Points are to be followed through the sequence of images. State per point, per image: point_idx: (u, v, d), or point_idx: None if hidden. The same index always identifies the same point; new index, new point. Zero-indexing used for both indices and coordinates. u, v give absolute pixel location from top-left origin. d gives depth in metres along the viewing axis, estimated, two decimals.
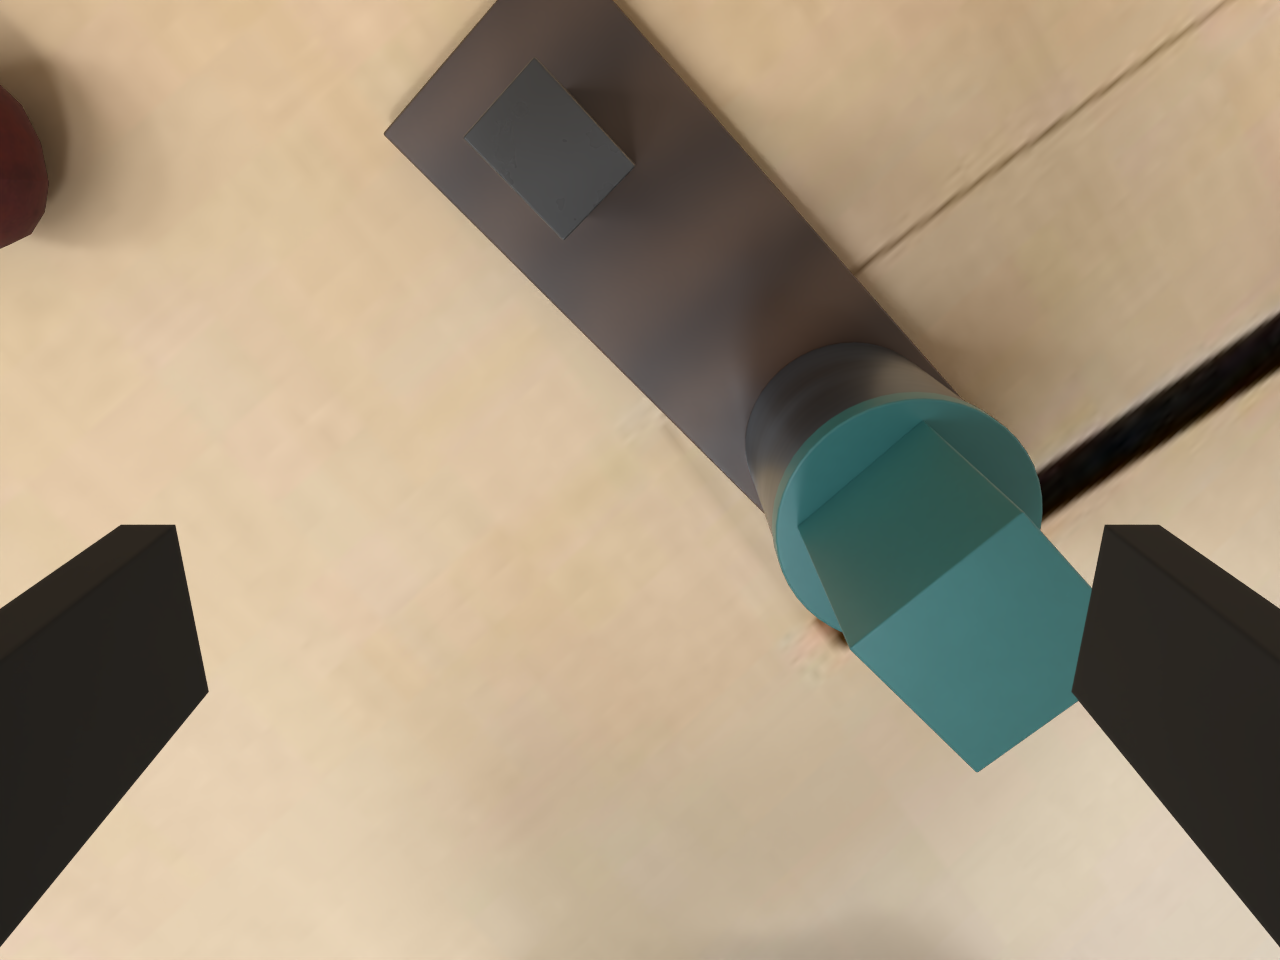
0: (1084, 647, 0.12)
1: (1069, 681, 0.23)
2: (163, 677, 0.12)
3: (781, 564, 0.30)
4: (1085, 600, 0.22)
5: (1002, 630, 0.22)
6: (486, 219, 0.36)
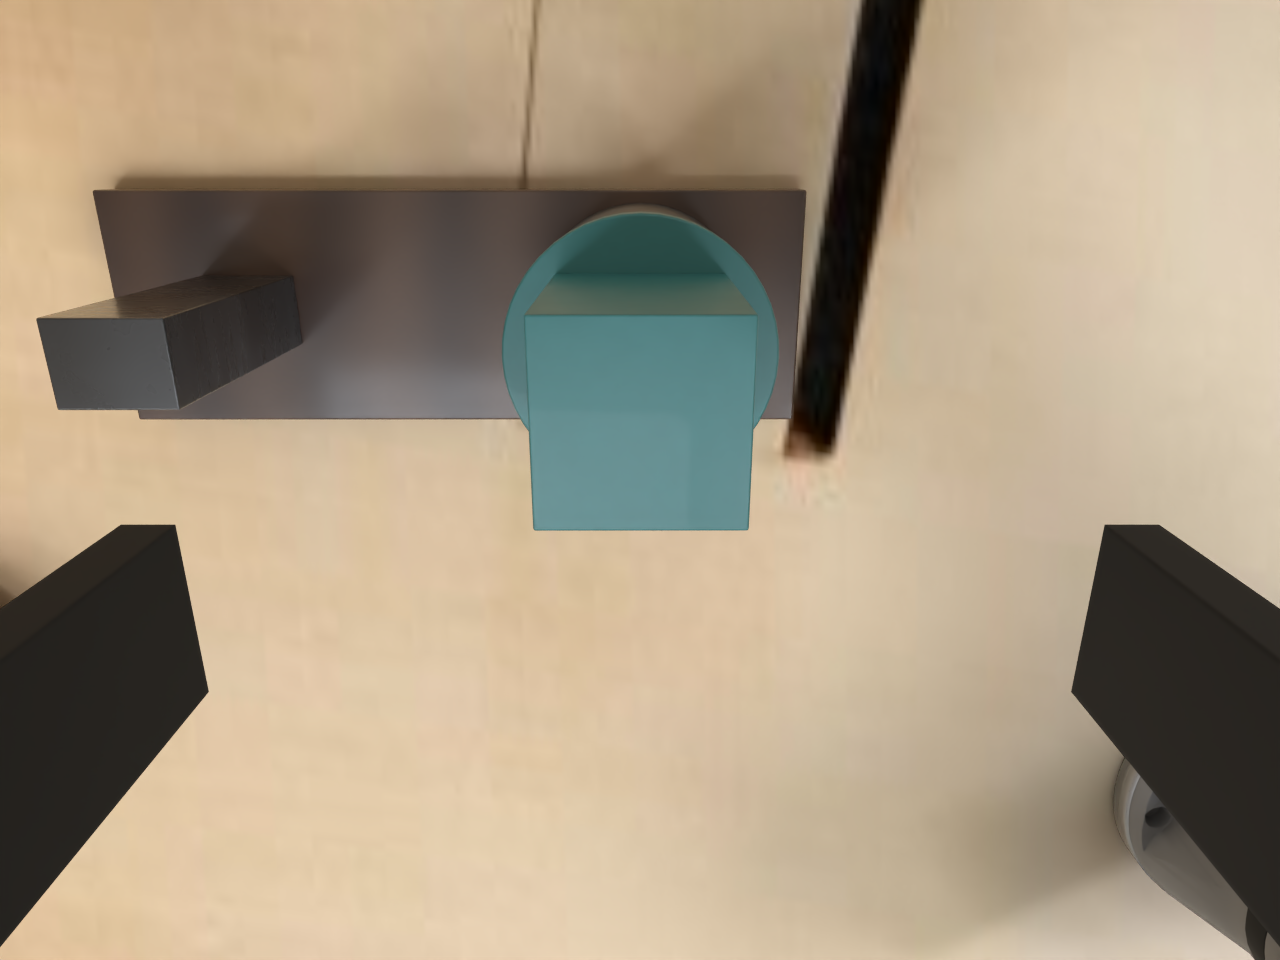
0: (1084, 647, 0.12)
1: (725, 396, 0.21)
2: (163, 677, 0.12)
3: None
4: (655, 327, 0.20)
5: (623, 410, 0.21)
6: (249, 408, 0.40)
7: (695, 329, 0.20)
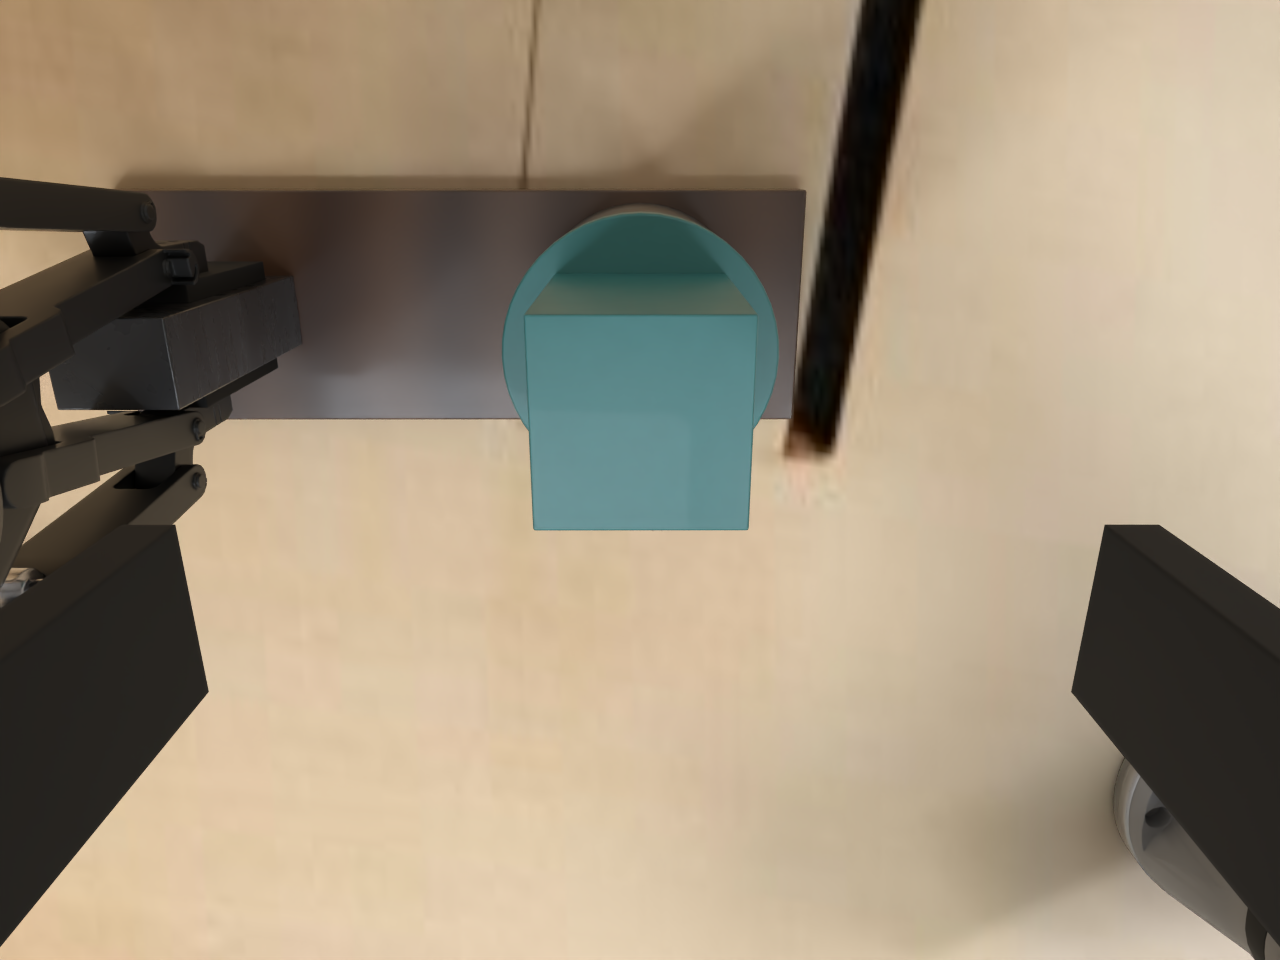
0: (1084, 647, 0.12)
1: (725, 396, 0.21)
2: (163, 677, 0.12)
3: None
4: (655, 327, 0.20)
5: (622, 410, 0.21)
6: (249, 408, 0.40)
7: (694, 329, 0.20)
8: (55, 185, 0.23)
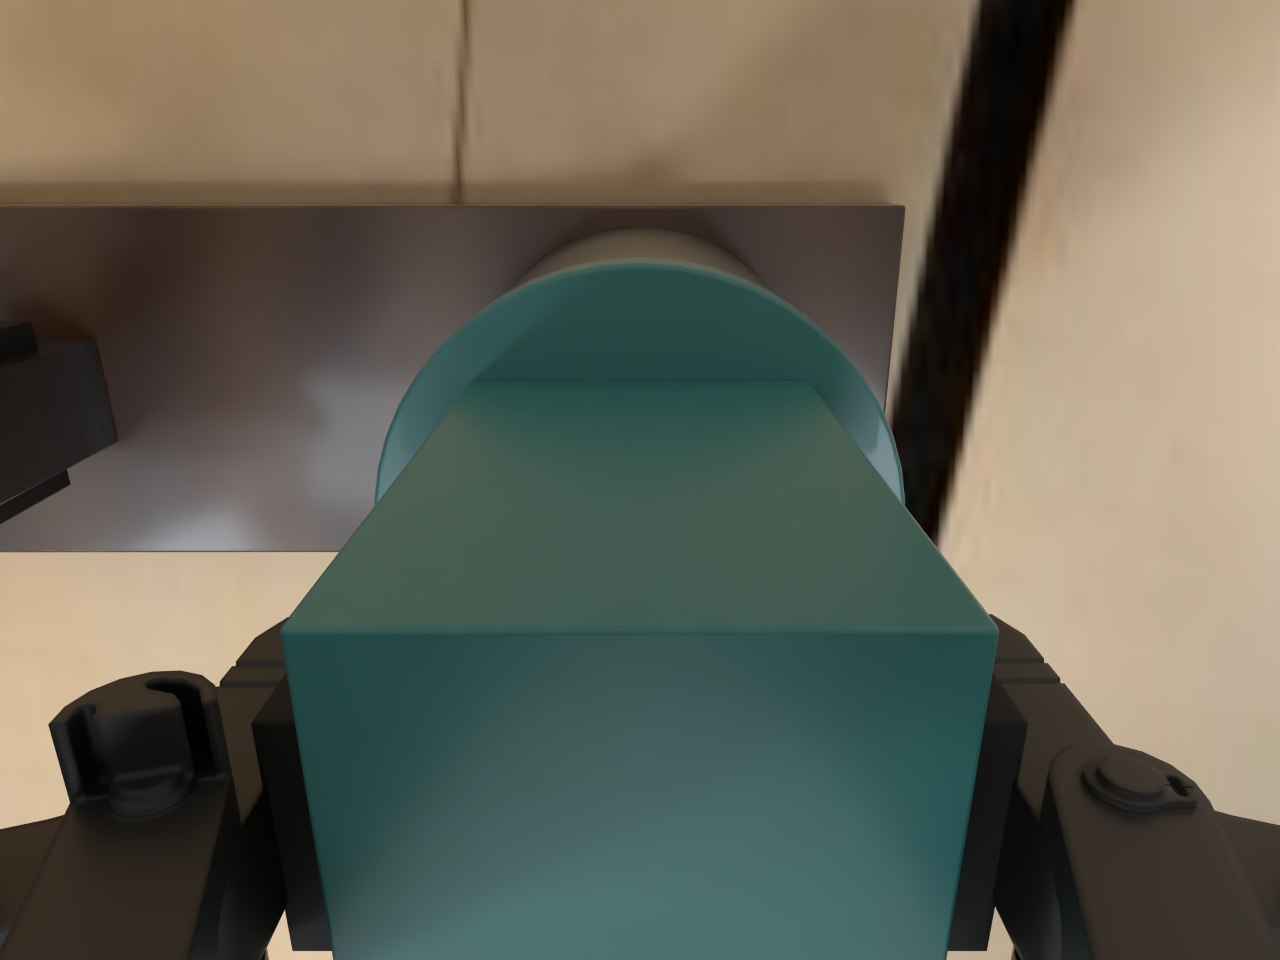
0: None
1: (885, 836, 0.07)
2: None
3: None
4: (684, 664, 0.07)
5: (588, 868, 0.07)
6: (44, 536, 0.26)
7: (804, 668, 0.07)
8: None
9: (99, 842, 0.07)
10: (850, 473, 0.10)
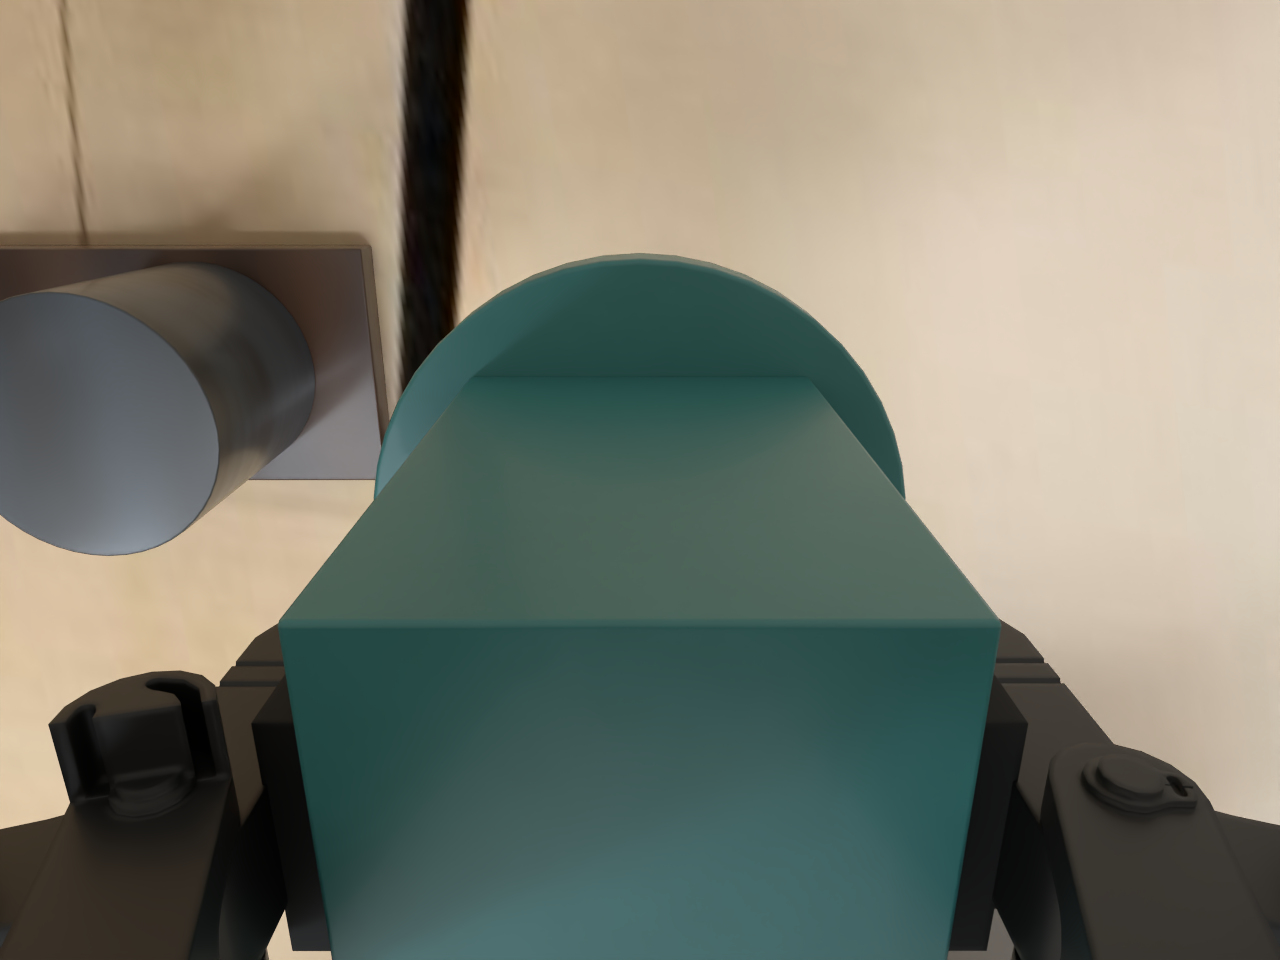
0: None
1: (885, 831, 0.07)
2: None
3: None
4: (684, 657, 0.07)
5: (587, 863, 0.07)
6: None
7: (805, 661, 0.07)
8: None
9: (99, 842, 0.07)
10: (851, 468, 0.10)
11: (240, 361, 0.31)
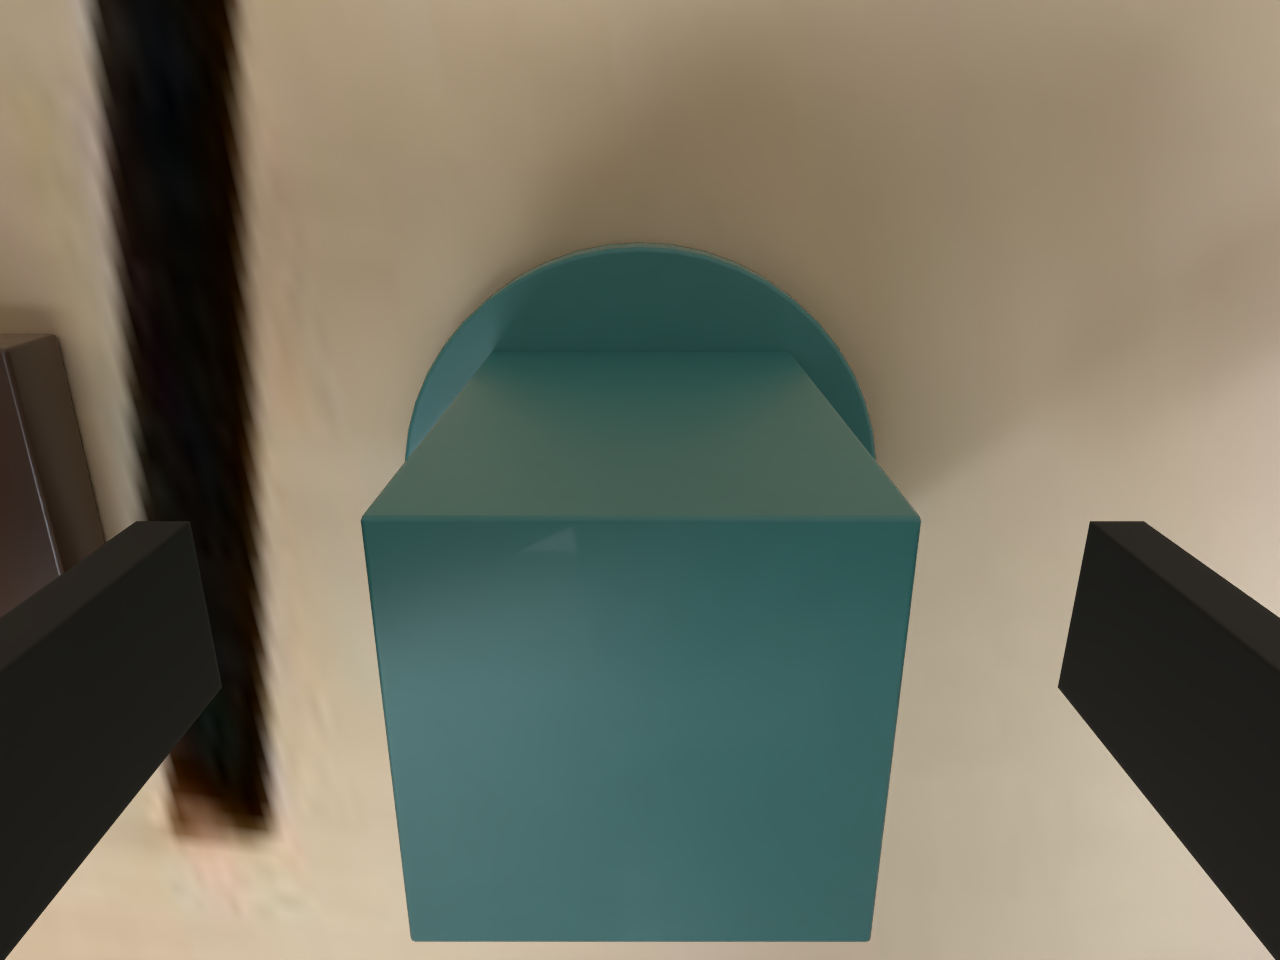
0: (1070, 643, 0.13)
1: (835, 690, 0.09)
2: (178, 672, 0.12)
3: None
4: (676, 546, 0.09)
5: (599, 718, 0.09)
6: None
7: (768, 549, 0.09)
8: None
9: None
10: (817, 418, 0.12)
11: None
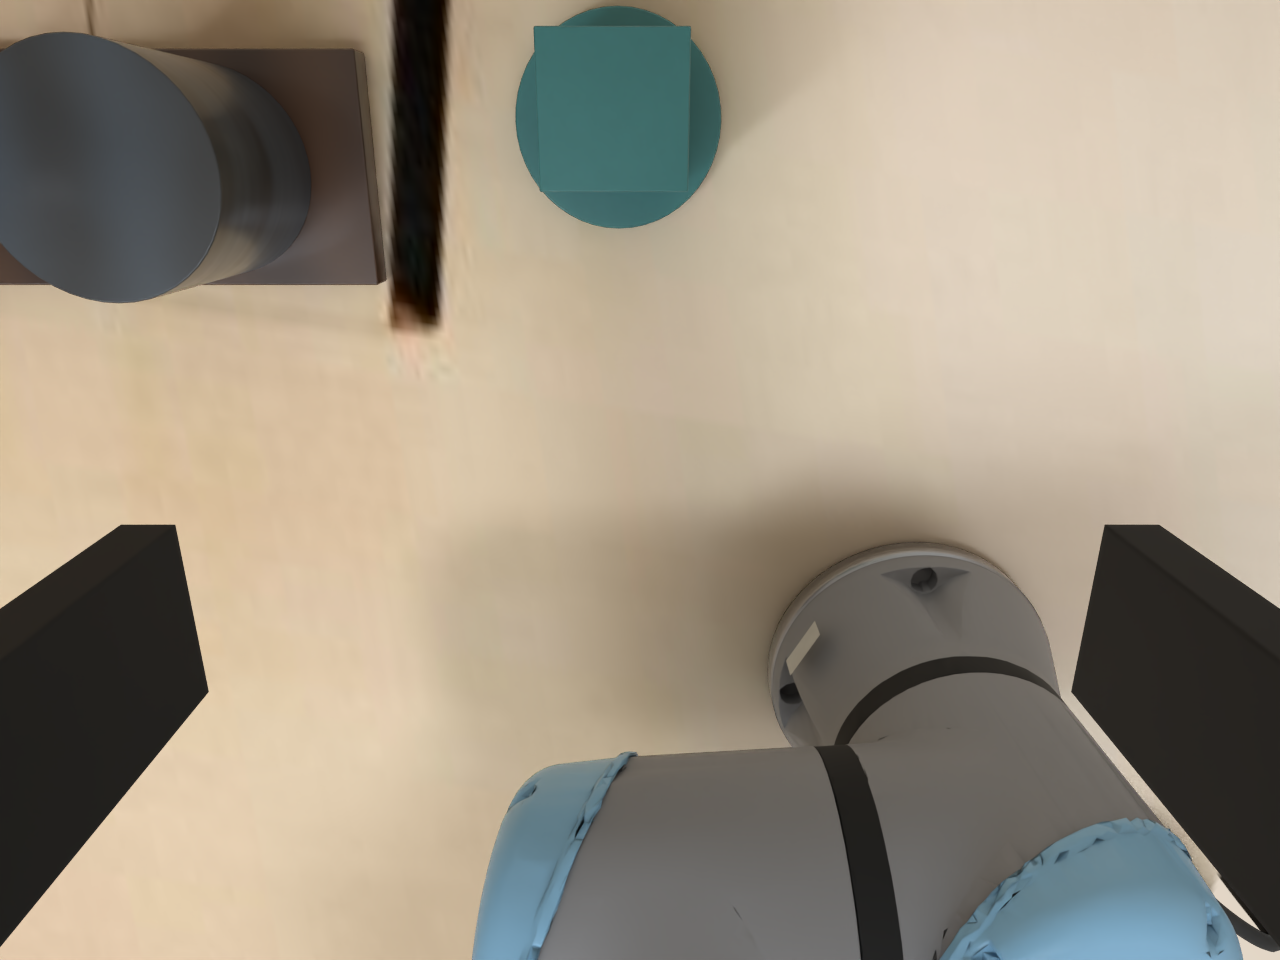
0: (1084, 647, 0.12)
1: (670, 87, 0.31)
2: (163, 677, 0.12)
3: (575, 216, 0.40)
4: (622, 35, 0.30)
5: (600, 98, 0.31)
6: None
7: (648, 36, 0.30)
8: None
9: None
10: None
11: (241, 127, 0.33)
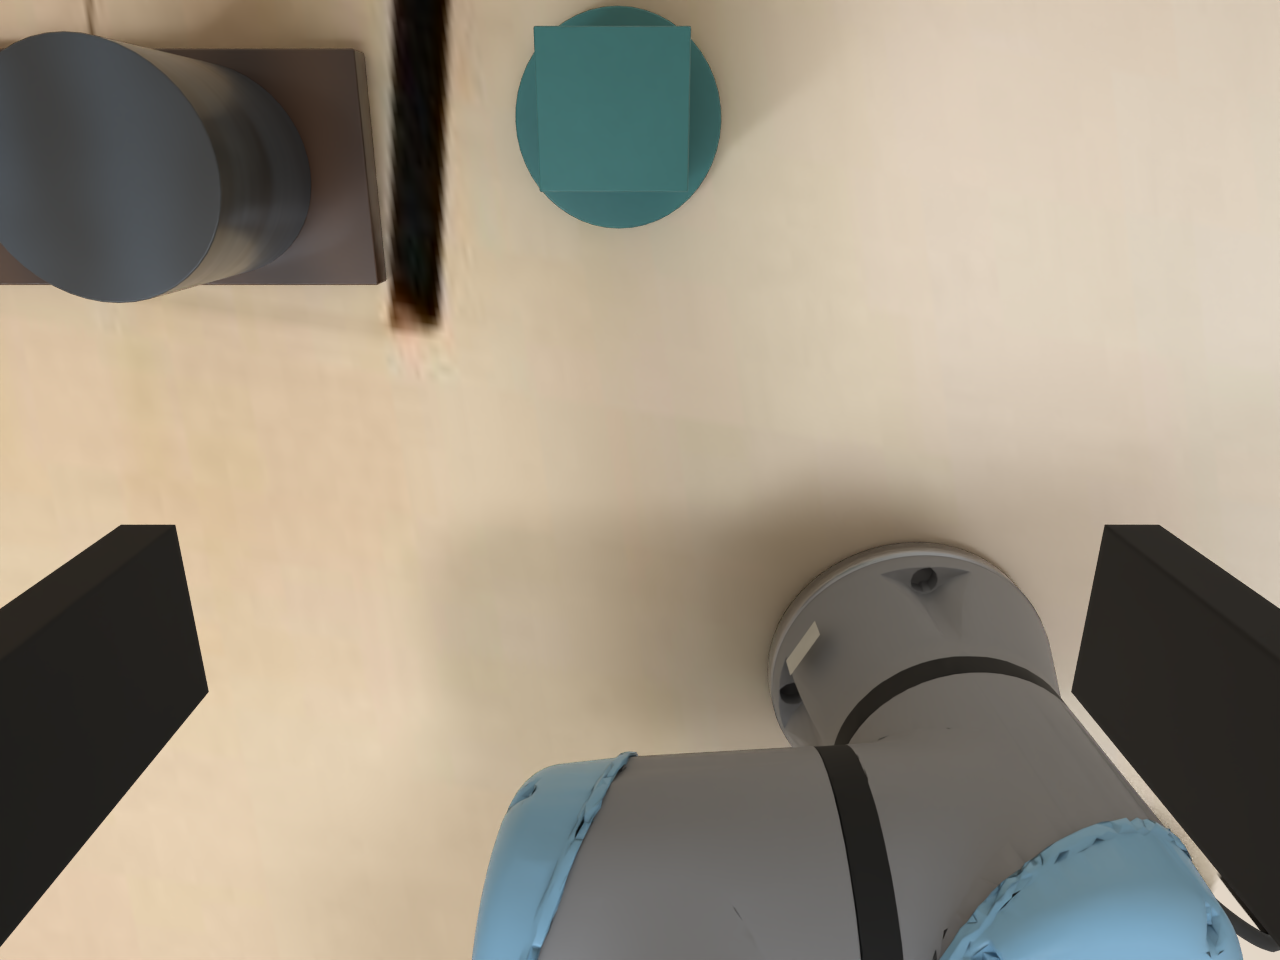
0: (1084, 647, 0.12)
1: (670, 87, 0.31)
2: (163, 677, 0.12)
3: (575, 216, 0.40)
4: (622, 35, 0.30)
5: (600, 98, 0.31)
6: None
7: (648, 36, 0.30)
8: None
9: None
10: None
11: (241, 127, 0.33)
